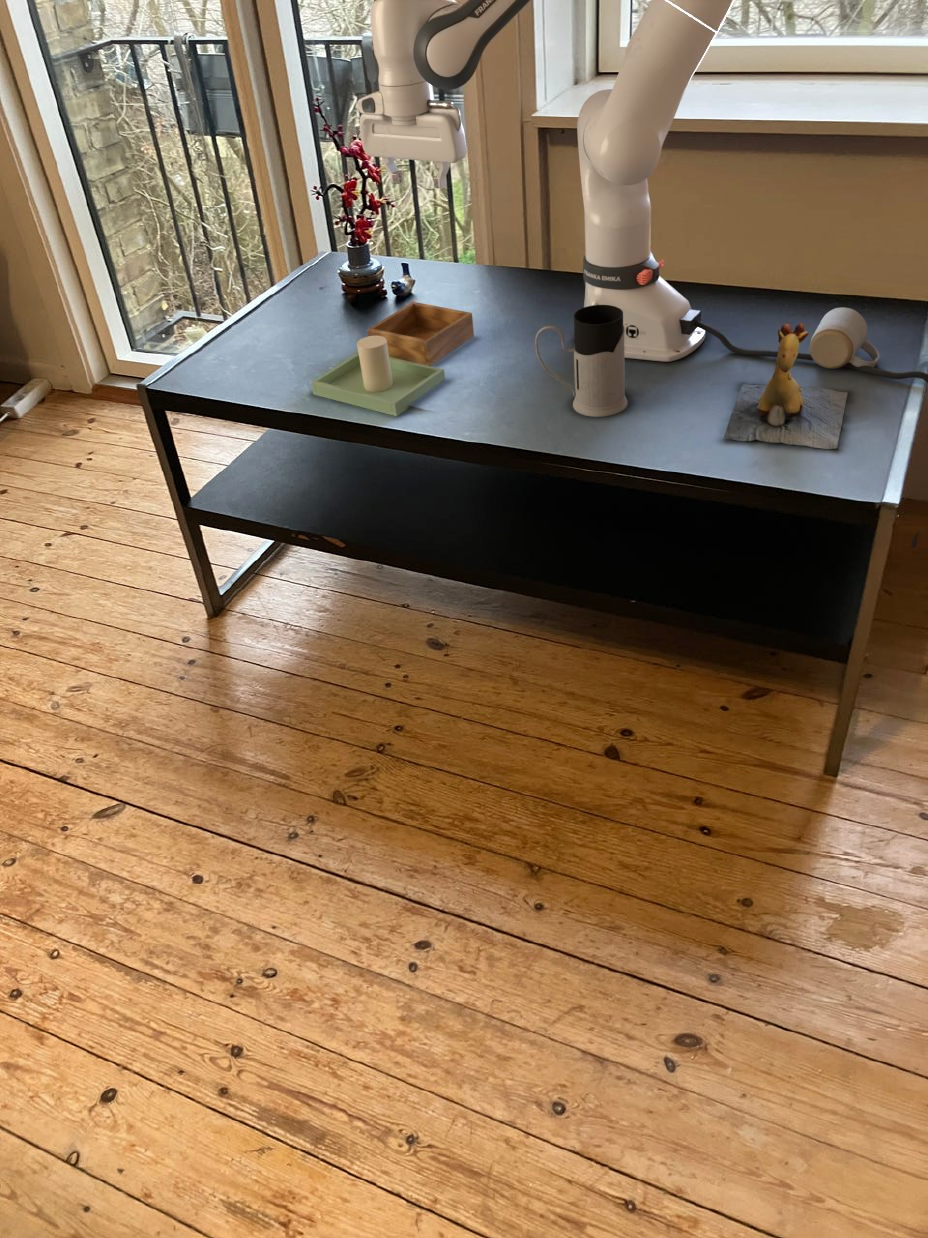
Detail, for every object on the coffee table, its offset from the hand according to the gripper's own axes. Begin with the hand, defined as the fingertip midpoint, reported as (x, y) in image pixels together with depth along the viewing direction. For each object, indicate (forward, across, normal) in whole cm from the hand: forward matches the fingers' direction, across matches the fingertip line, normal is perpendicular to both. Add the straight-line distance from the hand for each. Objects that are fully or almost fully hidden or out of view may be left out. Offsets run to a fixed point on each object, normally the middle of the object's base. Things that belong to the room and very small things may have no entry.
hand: (418, 184), depth 182 cm
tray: (+26, -6, +25) cm, 37 cm away
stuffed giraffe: (+27, -71, +7) cm, 76 cm away
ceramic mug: (+27, -72, -14) cm, 78 cm away
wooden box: (+26, -3, +8) cm, 28 cm away
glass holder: (+26, -41, +16) cm, 51 cm away
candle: (+25, -6, +25) cm, 36 cm away
